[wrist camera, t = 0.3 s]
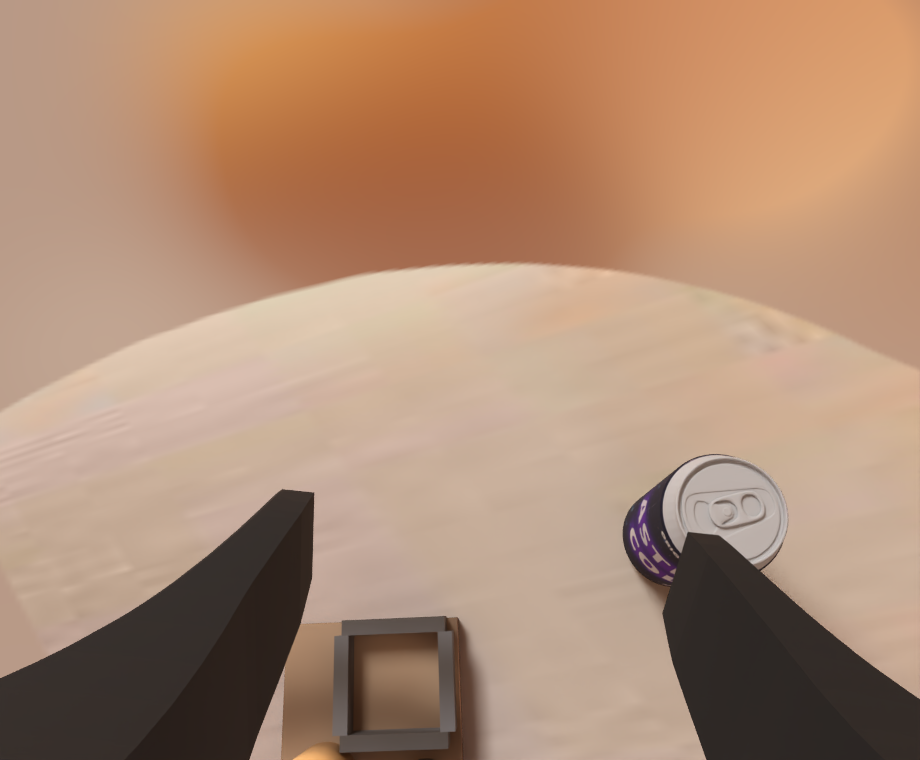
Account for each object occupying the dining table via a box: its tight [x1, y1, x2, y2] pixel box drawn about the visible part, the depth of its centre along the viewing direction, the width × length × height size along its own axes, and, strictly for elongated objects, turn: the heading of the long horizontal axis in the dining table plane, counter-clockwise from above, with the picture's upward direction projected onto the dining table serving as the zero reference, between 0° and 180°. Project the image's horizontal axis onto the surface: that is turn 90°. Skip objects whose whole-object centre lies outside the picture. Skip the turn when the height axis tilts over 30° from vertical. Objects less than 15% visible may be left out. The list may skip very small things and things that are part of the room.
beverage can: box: [623, 454, 788, 587], centre depth 35 cm, size 6×6×12 cm
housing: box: [281, 616, 463, 760], centre depth 36 cm, size 11×10×5 cm
